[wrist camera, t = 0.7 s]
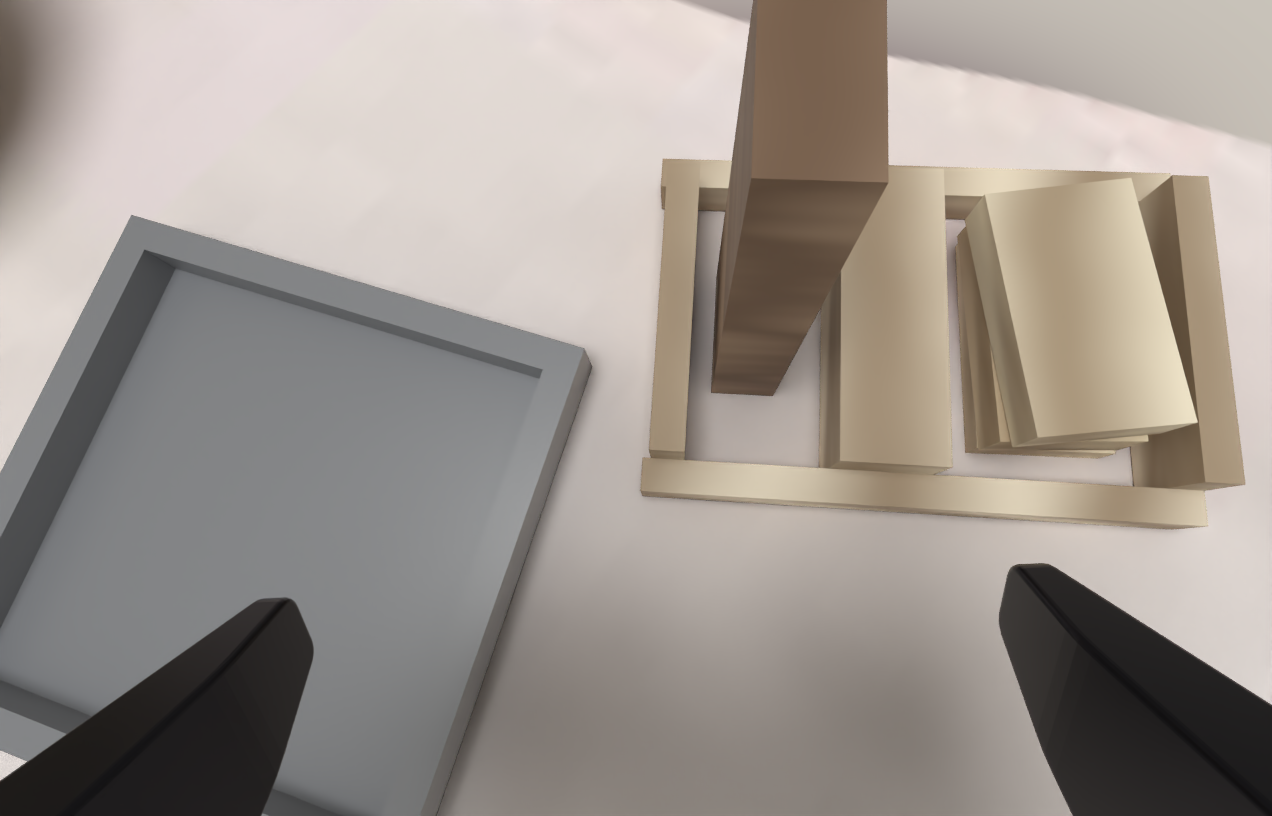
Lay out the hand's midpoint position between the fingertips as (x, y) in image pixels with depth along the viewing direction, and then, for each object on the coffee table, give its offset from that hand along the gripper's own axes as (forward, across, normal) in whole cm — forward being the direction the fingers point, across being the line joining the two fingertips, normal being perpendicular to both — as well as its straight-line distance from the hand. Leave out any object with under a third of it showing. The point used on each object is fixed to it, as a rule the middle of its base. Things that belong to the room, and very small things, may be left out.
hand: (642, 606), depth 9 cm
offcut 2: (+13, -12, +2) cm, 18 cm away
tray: (+11, +13, +7) cm, 18 cm away
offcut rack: (+15, -8, +4) cm, 17 cm away
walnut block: (+15, -3, +3) cm, 16 cm away
